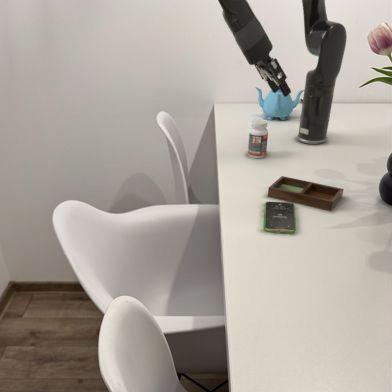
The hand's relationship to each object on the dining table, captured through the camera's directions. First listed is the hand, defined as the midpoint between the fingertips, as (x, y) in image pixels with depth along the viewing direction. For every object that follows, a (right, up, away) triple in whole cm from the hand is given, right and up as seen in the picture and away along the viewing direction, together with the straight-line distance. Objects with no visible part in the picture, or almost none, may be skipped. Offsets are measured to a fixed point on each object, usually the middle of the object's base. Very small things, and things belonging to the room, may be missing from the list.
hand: (282, 92), depth 138 cm
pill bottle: (-6, -13, +13) cm, 19 cm away
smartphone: (-4, -42, -20) cm, 46 cm away
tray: (+4, -33, -10) cm, 35 cm away
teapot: (+6, +13, +43) cm, 45 cm away
